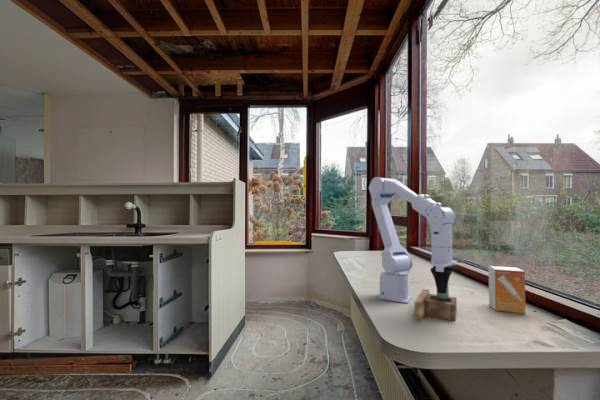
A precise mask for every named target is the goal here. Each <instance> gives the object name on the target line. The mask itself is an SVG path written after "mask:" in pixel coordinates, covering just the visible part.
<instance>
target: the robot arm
mask: <svg viewBox="0 0 600 400" xmlns="http://www.w3.org/2000/svg"><path fill="white" fill-rule="evenodd" d="M368 190H369V194H370V197H371V206H372V211H373V213H374V216H375V219H376V223H377V227H378V230H379V233H380V236H381V240H382V243H383V246H384V249H383V250H382V252H381V253H380V255H381V256H380V257H381V266H382V269H383V271H382V272H380V275H379V297H378V299H379V300H386V301H390V302H391V301H392V302H398V303H404V304H408V303H409V301H410V300H411V298H412V295H409V274H410V271H411V269H413V263H414V262H413V259H412V257H411V256H410V255H409V253H408V250H407V249H406V248H405V247H404V246H403V245H401V244H400V243H401V242H400V240H399V236H398V234H397V231H396V227H395V225H394V224H395V223H394V222H393V219H392V215H391V212H390V209H389V206H388V204H389V203H390V202H391V201H392V200H393V199H394V197H395V196H396V195H397V196H399V197H400V198H403V200H405V201H407V202H409V203H411V208H412V209H413V210H414V211H416V212H417V213H419V215H422V216H423V217H424V218H426V220H427V223H428V224H429V226H430V227H429V228H430V232H431V233H430V234H431V235H430V236H431V237H430V239H431V241H430V242H431V259H430V263H431V264H432V265H433V266H432V267H431V268H430V272H431V274H432V276H433V279H434V282H435V287H436V292H437V291H438V293H443V294H446V291H447V285H448V286H449V280H450V276H451V275H452V272H453V270H454V266H457V265H458V262H457V261H453V225H454V223H456V219H457V216H456V212H455V210H453V209H452V208H451V207H450V206H442V204H443V203H441V202H436V201H435V200H433V199H432V198H430V197H431V195H429V194H425V193H424V194H423V193H421V194H417V193H416V192H415V191H413V190H411V188H409V187H407V186H406V185H404V183H402V181H400V180H398V179H396V178H390V177H388V178H387V177H380V176H375V177H373V178H372V179H371V181H370V183H369V186H368Z"/></svg>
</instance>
